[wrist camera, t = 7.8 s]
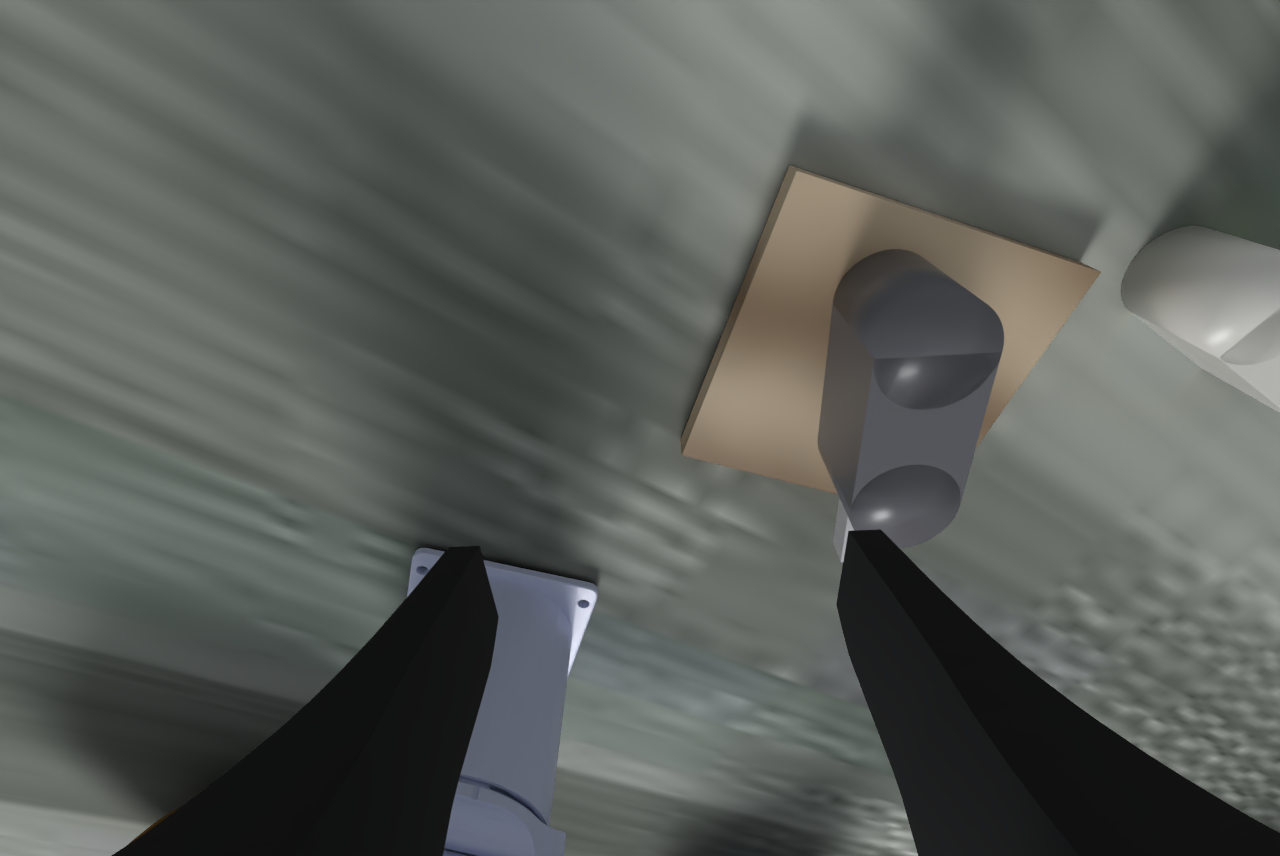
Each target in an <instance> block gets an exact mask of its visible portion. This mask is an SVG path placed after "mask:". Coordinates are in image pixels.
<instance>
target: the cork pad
mask: <svg viewBox="0 0 1280 856" xmlns="http://www.w3.org/2000/svg"><path fill="white" fill-rule="evenodd" d="M890 249H902V250H908V251H911V252H914V253H916V254H918V255H920V256H921V257H923V258H924V259H926V260H927V261H928V262H930V263H931V264H933V265H934V266H935V267H937V268H938V269H939V270H941V271H942V272H944V273H945V274H946V275H948V276H949V277H950V278H952V279H953V280H955V281H956V282H957V283H959V284H960V285H961V286H963V287H964V288H966V289H967V290H968V291H970V292H971V293H973V294H974V295H975V296H977V297H978V298H979V299H981V300H982V301H984V302H985V303H986V304H988V305H989V306H990V307H991V308H992V309H993V310H994V311H995V312H996V314H997V315H998V316H999V318H1000V320H1001V323H1002V326H1003V330H1004V346H1003V351H1002V355H1001V358H1000V362H999V366H998V369H997V373H996V376H995V380H994V384H993V387H992V391H991V394H990V398H989V402H988V405H987V409H986V412H985V416H984V420H983V423H982V427H981V430H980V434H979V438H978V441H977V445H976V447H977V446H978V444H979V443H980V442H981V440H982V439H983V437H984V436H985V435H986V433H987V432H988V430H989V429H990V428H991V426H992V425H993V423H994V422H995V421H996V419H997V418H998V416H999V415H1000V414H1001V412H1002V411H1003V409H1004V408H1005V406H1006V405H1007V404H1008V402H1009V401H1010V399H1011V398H1012V397H1013V395H1014V394H1015V392H1016V391H1017V390H1018V388H1019V387H1020V385H1021V384H1022V383H1023V381H1024V380H1025V378H1026V377H1027V376H1028V374H1029V373H1030V371H1031V370H1032V368H1033V367H1034V366H1035V364H1036V363H1037V361H1038V360H1039V359H1040V357H1041V356H1042V354H1043V353H1044V352H1045V350H1046V349H1047V347H1048V346H1049V345H1050V343H1051V342H1052V340H1053V339H1054V338H1055V336H1056V335H1057V333H1058V332H1059V330H1060V329H1061V328H1062V326H1063V325H1064V323H1065V322H1066V321H1067V319H1068V318H1069V316H1070V315H1071V314H1072V312H1073V311H1074V309H1075V308H1076V307H1077V305H1078V304H1079V302H1080V301H1081V300H1082V298H1083V297H1084V295H1085V294H1086V293H1087V291H1088V290H1089V288H1090V287H1091V285H1092V284H1093V283H1094V281H1095V280H1096V278H1097V277H1098V276H1099V274H1100V273H1101V272H1100V271H1098V270H1096V269H1094V268H1092V267H1089V266H1087V265H1085V264H1083V263H1081V262H1078V261H1075V260H1072V259H1069V258H1066V257H1063V256H1060V255H1057V254H1054V253H1051V252H1048V251H1045V250H1042V249H1039V248H1036V247H1033V246H1030V245H1027V244H1024V243H1021V242H1018V241H1015V240H1012V239H1009V238H1006V237H1003V236H1000V235H997V234H994V233H991V232H988V231H985V230H982V229H979V228H976V227H973V226H970V225H967V224H964V223H961V222H958V221H955V220H952V219H949V218H946V217H943V216H940V215H937V214H934V213H931V212H928V211H925V210H922V209H919V208H916V207H913V206H910V205H907V204H904V203H901V202H898V201H895V200H892V199H889V198H886V197H883V196H880V195H877V194H874V193H871V192H868V191H865V190H862V189H859V188H856V187H853V186H850V185H847V184H844V183H841V182H838V181H835V180H832V179H829V178H826V177H823V176H820V175H817V174H814V173H811V172H808V171H805V170H802V169H799V168H796V167H794V166H791V165H789V167H788V170H787V172H786V175H785V177H784V180H783V182H782V185H781V187H780V190H779V193H778V195H777V198H776V200H775V203H774V205H773V208H772V210H771V213H770V215H769V218H768V220H767V223H766V225H765V228H764V230H763V233H762V235H761V238H760V240H759V243H758V246H757V248H756V251H755V253H754V256H753V258H752V261H751V263H750V266H749V268H748V271H747V273H746V276H745V278H744V281H743V283H742V286H741V288H740V291H739V294H738V296H737V299H736V301H735V304H734V306H733V309H732V311H731V314H730V316H729V319H728V321H727V324H726V326H725V329H724V331H723V334H722V336H721V339H720V341H719V344H718V347H717V349H716V352H715V354H714V357H713V359H712V362H711V364H710V367H709V369H708V372H707V374H706V377H705V379H704V382H703V384H702V387H701V389H700V392H699V394H698V397H697V400H696V402H695V405H694V407H693V410H692V412H691V415H690V417H689V420H688V422H687V425H686V427H685V430H684V432H683V435H682V437H681V440H680V441H681V452H682V455H683V456H687V457H691V458H695V459H699V460H703V461H707V462H711V463H715V464H719V465H723V466H727V467H731V468H735V469H739V470H743V471H747V472H751V473H755V474H759V475H763V476H767V477H771V478H775V479H779V480H783V481H787V482H791V483H795V484H799V485H803V486H807V487H811V488H815V489H819V490H823V491H827V492H831V493H835V494H838V493H837V491H836V489H835V486H834V484H833V482H832V480H831V477H830V475H829V473H828V471H827V468H826V466H825V464H824V462H823V459H822V457H821V455H820V453H819V449H818V431H819V422H820V413H821V404H822V395H823V386H824V377H825V368H826V359H827V350H828V341H829V332H830V323H831V314H832V305H833V299H834V295H835V292H836V289H837V287H838V285H839V283H840V282H841V280H842V278H843V277H844V276H845V274H846V273H847V272H848V271H849V270H850V269H851V268H852V267H853V266H854V265H855V264H857V263H858V262H859V261H861V260H862V259H864V258H865V257H867V256H869V255H871V254H874V253H877V252H880V251H884V250H890ZM975 449H976V448H975Z"/></svg>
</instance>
